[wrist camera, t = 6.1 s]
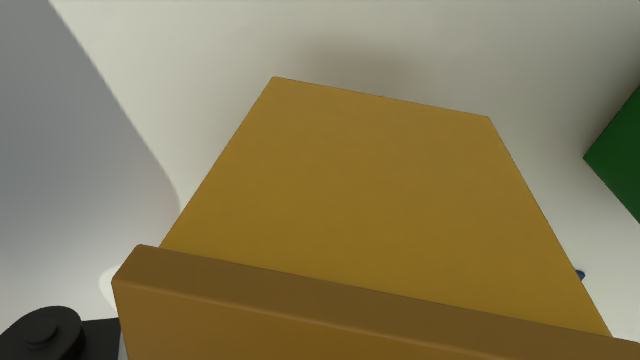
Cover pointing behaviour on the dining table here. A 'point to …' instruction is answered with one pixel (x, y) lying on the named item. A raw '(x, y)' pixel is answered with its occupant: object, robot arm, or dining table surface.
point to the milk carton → (620, 155)
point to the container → (359, 246)
